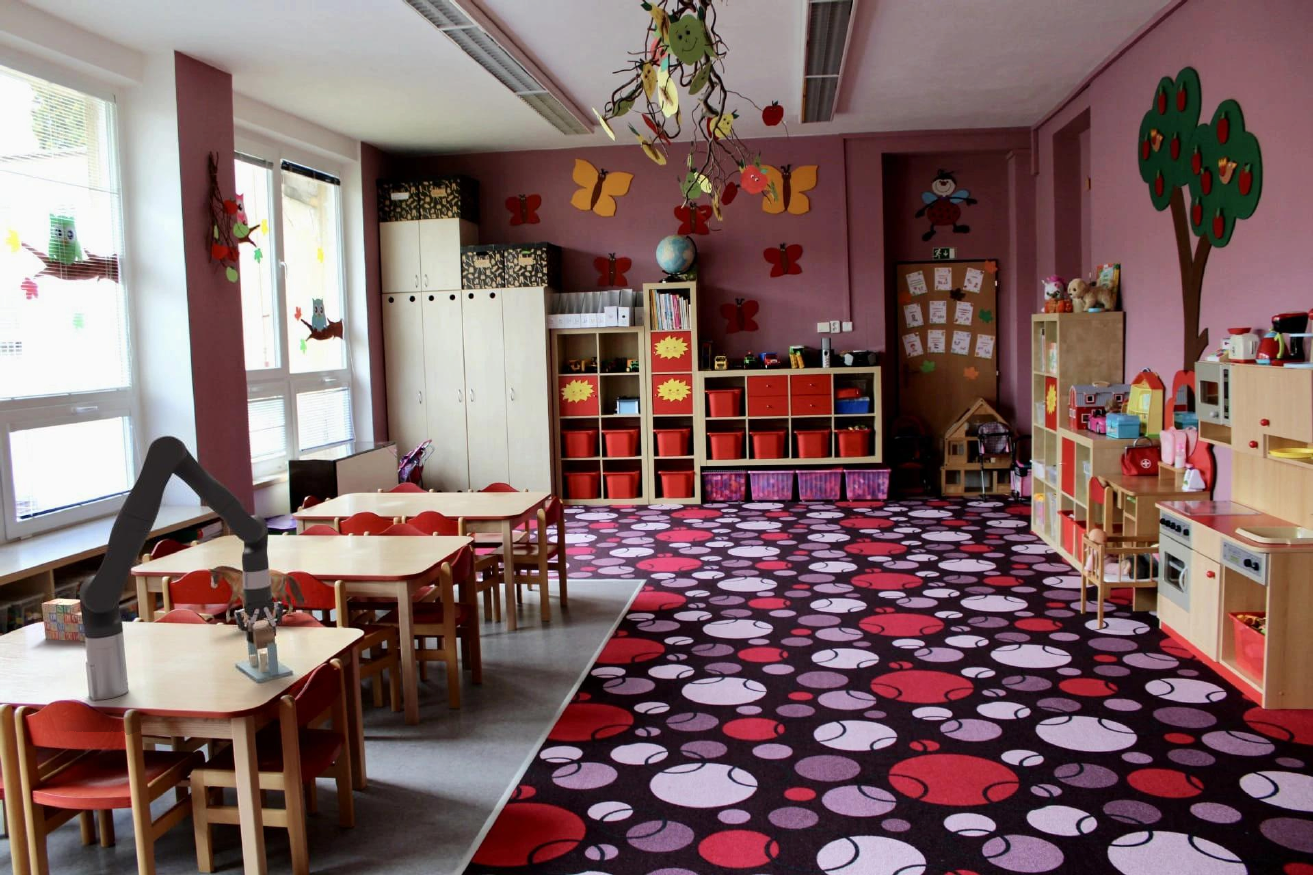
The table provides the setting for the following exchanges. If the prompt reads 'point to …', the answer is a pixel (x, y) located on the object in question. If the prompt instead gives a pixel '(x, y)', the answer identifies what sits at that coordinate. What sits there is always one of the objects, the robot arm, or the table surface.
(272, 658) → the peg stand
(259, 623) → the brown wooden block
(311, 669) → the table surface
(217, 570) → the horse figurine
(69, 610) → the stack of blocks
